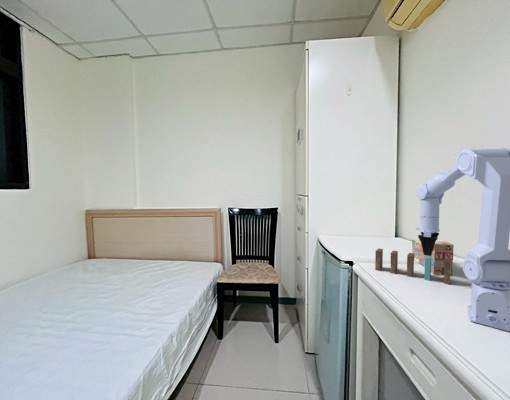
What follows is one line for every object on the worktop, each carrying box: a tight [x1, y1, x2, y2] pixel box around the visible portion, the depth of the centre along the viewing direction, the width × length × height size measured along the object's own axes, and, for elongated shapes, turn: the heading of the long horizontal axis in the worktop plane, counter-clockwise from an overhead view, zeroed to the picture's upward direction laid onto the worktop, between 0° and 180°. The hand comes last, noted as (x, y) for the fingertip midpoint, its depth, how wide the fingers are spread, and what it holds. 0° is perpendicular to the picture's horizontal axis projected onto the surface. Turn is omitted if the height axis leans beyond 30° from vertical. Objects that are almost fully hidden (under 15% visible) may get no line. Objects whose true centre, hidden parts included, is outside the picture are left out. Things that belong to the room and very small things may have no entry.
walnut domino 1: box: [374, 248, 384, 272], centre depth 98 cm, size 2×5×8 cm, turn 140°
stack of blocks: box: [411, 238, 455, 277], centre depth 100 cm, size 21×6×12 cm, turn 166°
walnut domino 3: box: [406, 252, 415, 278], centre depth 91 cm, size 2×5×8 cm, turn 140°
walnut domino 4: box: [443, 258, 451, 285], centre depth 84 cm, size 2×5×8 cm, turn 140°
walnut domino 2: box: [390, 250, 399, 275], centre depth 94 cm, size 2×5×8 cm, turn 140°
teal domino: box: [424, 255, 432, 281], centre depth 87 cm, size 2×5×8 cm, turn 140°
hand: (428, 253), depth 87 cm, fingers open, 6 cm apart
